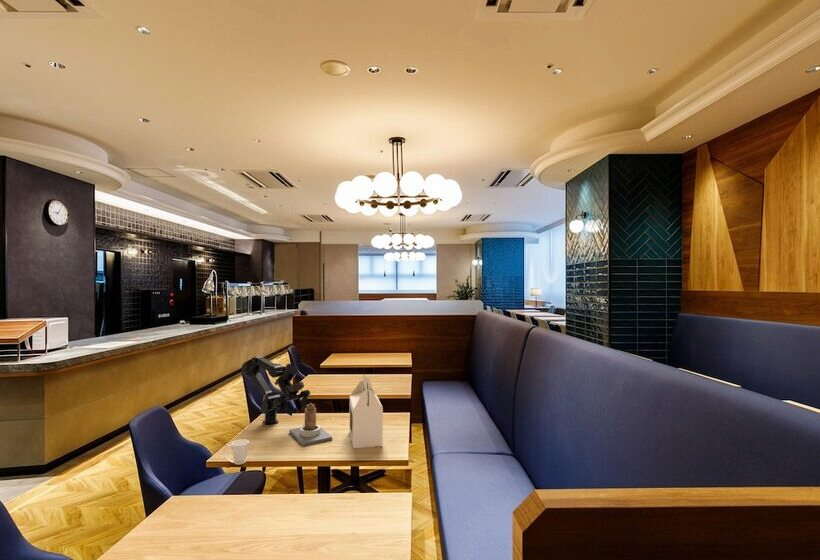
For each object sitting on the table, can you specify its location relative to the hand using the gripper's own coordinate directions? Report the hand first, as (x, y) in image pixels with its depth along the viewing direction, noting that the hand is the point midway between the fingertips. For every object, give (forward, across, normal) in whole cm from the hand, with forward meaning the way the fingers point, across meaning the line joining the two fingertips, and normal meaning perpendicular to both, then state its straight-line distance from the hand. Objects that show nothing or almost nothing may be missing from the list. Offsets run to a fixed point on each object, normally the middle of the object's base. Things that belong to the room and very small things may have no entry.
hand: (299, 412), depth 203 cm
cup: (+12, -37, +2) cm, 39 cm away
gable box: (+28, +14, -15) cm, 35 cm away
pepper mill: (+11, 0, 0) cm, 11 cm away
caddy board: (+12, 0, +1) cm, 12 cm away
